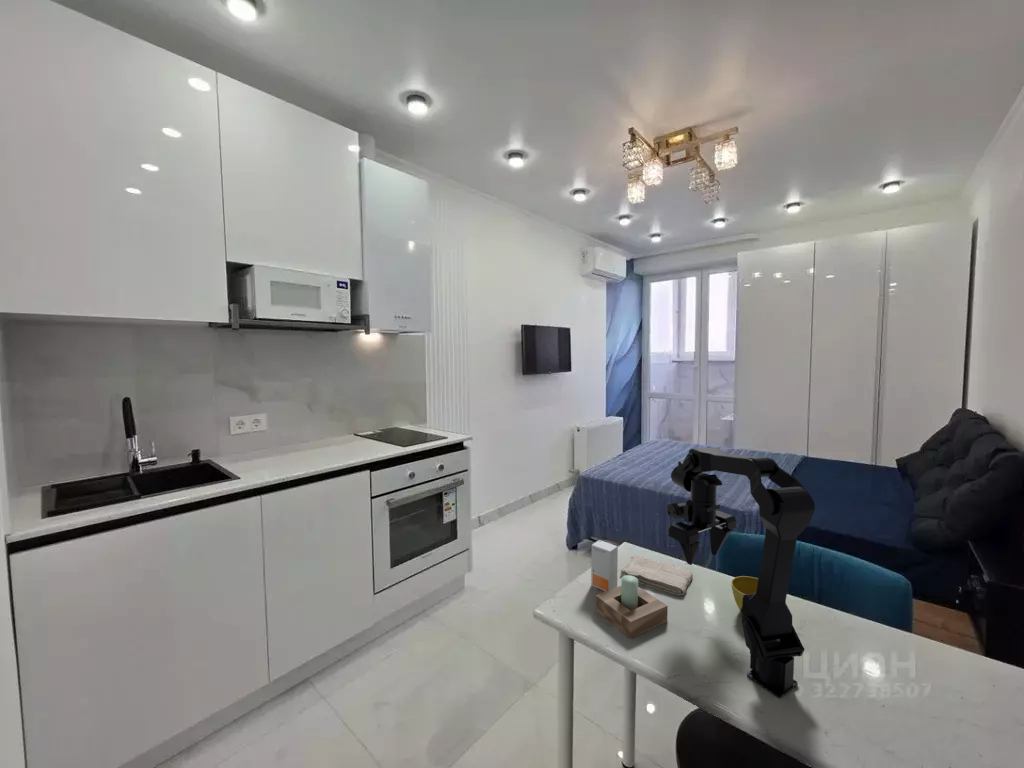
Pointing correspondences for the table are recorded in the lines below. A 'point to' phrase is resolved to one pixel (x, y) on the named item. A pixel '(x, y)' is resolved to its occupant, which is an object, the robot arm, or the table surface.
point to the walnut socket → (631, 611)
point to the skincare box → (604, 565)
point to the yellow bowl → (743, 588)
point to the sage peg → (629, 592)
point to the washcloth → (658, 574)
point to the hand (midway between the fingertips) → (701, 559)
